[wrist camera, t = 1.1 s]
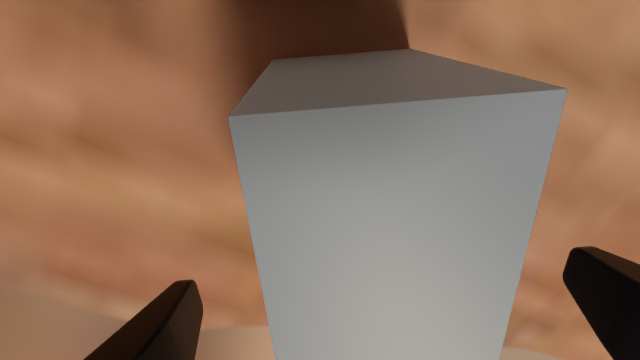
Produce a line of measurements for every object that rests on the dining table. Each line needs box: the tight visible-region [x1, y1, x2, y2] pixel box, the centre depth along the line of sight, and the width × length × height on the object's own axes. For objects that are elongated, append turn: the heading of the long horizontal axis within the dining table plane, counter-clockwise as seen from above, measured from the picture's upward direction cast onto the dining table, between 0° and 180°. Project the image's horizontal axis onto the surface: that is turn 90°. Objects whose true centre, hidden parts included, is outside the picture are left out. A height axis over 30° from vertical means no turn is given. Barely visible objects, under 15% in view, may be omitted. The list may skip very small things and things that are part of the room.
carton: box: [228, 49, 568, 360], centre depth 10 cm, size 5×9×8 cm, turn 4°
